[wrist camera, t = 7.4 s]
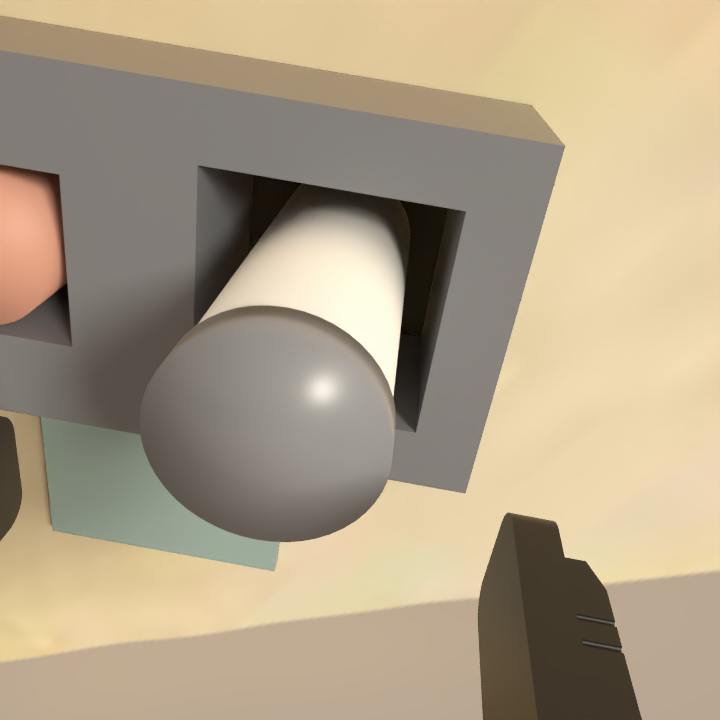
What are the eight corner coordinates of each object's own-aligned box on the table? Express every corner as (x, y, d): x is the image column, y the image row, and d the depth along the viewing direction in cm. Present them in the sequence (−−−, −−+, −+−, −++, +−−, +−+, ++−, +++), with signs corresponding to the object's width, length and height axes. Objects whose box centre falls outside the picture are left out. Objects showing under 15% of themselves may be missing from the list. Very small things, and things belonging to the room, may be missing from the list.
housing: (-14, 303, 25) (-132, 385, 20) (-57, 6, 20) (-228, 11, 15) (459, 387, 25) (465, 493, 20) (532, 105, 20) (565, 146, 15)
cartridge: (272, 287, 24) (141, 519, 13) (283, 156, 22) (136, 308, 11) (400, 309, 24) (372, 560, 13) (425, 179, 21) (414, 355, 11)
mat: (59, 521, 30) (52, 530, 30) (41, 347, 26) (33, 355, 25) (277, 561, 30) (274, 571, 30) (296, 393, 26) (293, 401, 25)
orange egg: (25, 239, 23) (-93, 311, 18) (13, 121, 22) (-124, 163, 16) (138, 259, 23) (51, 337, 18) (135, 142, 21) (37, 191, 16)
